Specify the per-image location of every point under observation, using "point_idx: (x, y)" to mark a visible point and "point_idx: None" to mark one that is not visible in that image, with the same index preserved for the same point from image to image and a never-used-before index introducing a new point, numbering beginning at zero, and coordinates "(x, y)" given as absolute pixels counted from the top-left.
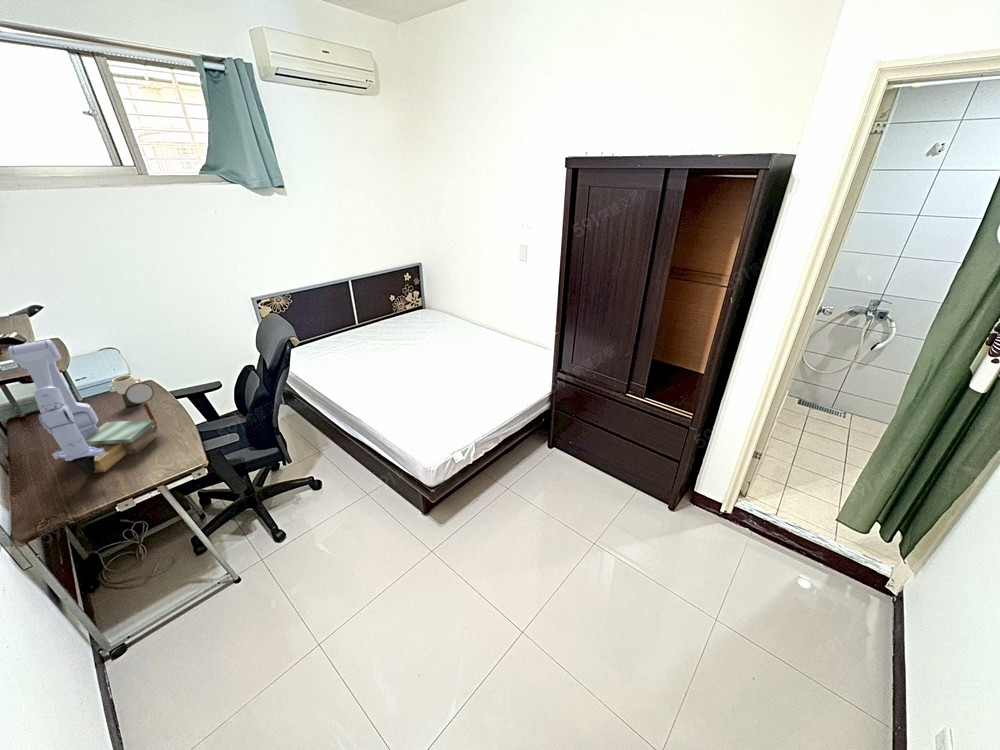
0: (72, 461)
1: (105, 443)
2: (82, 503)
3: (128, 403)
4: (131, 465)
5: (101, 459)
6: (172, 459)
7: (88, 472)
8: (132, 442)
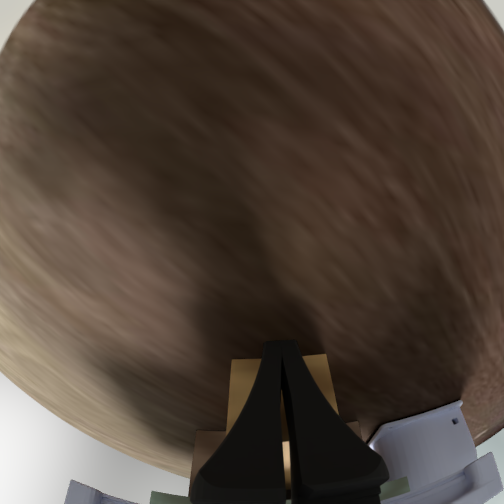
0: (332, 490)
1: (286, 501)
2: (71, 56)
3: None
4: (134, 381)
5: None
6: (30, 373)
7: (263, 358)
8: (191, 483)
